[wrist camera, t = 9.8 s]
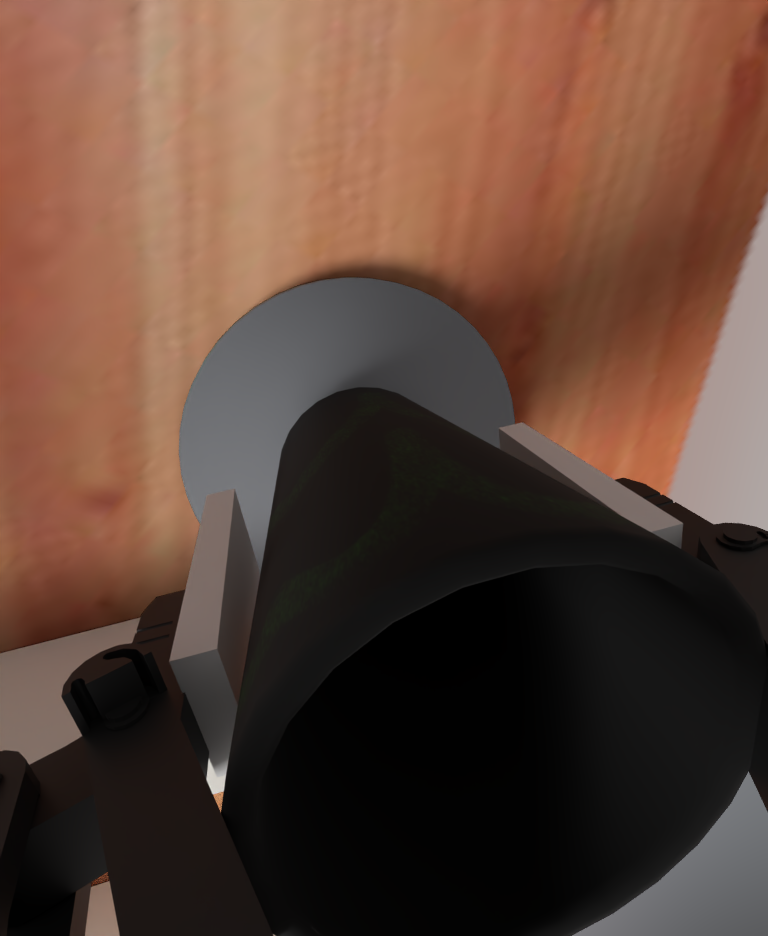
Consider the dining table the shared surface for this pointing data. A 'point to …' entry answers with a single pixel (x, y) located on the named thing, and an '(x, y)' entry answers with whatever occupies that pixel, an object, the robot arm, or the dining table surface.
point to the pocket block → (60, 719)
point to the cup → (473, 690)
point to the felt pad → (327, 380)
